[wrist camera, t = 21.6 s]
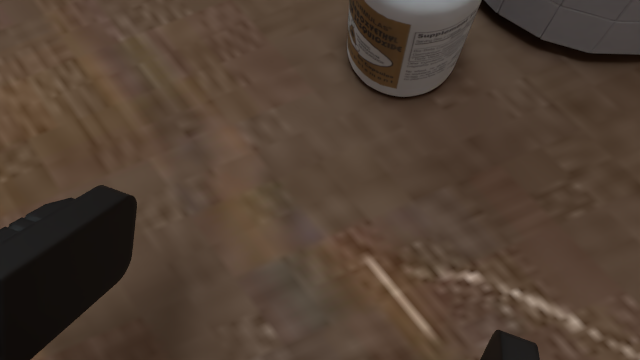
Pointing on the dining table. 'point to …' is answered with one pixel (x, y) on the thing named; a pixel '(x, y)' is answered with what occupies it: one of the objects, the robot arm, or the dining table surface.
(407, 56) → the pill bottle
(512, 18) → the pan
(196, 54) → the dining table surface
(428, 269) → the dining table surface
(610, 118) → the dining table surface
